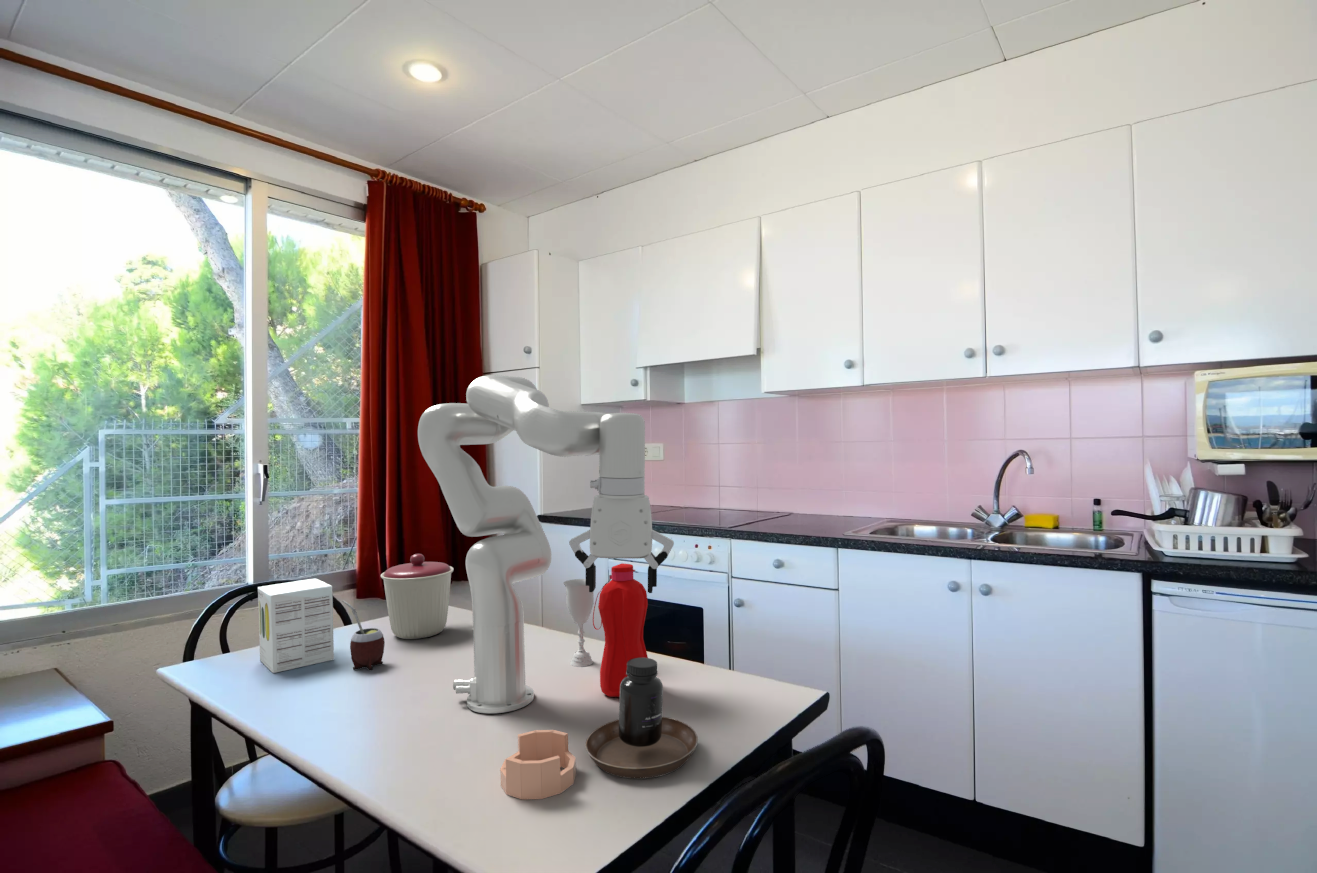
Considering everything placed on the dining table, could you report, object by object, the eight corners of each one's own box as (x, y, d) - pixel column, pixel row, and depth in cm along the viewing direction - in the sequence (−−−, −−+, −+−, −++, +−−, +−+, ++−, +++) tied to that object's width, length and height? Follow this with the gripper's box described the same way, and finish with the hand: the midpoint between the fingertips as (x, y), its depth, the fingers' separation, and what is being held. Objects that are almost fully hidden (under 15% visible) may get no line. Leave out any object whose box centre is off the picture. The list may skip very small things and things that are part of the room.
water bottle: (601, 680, 138) (598, 559, 138) (653, 683, 136) (649, 560, 136) (587, 698, 129) (584, 568, 129) (643, 701, 127) (639, 569, 127)
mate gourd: (388, 667, 150) (386, 600, 150) (349, 675, 145) (347, 606, 145) (380, 658, 156) (378, 594, 156) (343, 666, 152) (342, 600, 152)
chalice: (604, 660, 150) (601, 580, 150) (585, 670, 145) (582, 587, 145) (578, 655, 154) (576, 577, 154) (559, 664, 148) (556, 583, 148)
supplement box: (258, 660, 157) (256, 586, 157) (318, 647, 166) (316, 577, 166) (272, 674, 148) (269, 595, 148) (335, 659, 156) (333, 585, 156)
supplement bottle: (655, 751, 101) (657, 673, 101) (612, 744, 103) (614, 667, 102) (666, 730, 108) (668, 657, 107) (626, 725, 109) (627, 652, 109)
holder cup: (493, 800, 93) (492, 764, 93) (511, 763, 104) (510, 730, 104) (569, 798, 93) (568, 762, 93) (579, 761, 104) (578, 729, 104)
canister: (367, 643, 168) (365, 560, 168) (406, 623, 186) (404, 548, 186) (434, 645, 165) (431, 560, 165) (467, 624, 183) (464, 548, 183)
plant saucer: (608, 799, 94) (607, 777, 94) (572, 746, 110) (571, 728, 110) (718, 770, 101) (718, 750, 101) (669, 725, 117) (669, 708, 117)
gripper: (566, 489, 107) (565, 595, 107) (674, 490, 106) (673, 597, 107) (573, 485, 114) (572, 584, 115) (674, 486, 114) (673, 585, 114)
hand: (621, 590), depth 111 cm, fingers open, 9 cm apart
